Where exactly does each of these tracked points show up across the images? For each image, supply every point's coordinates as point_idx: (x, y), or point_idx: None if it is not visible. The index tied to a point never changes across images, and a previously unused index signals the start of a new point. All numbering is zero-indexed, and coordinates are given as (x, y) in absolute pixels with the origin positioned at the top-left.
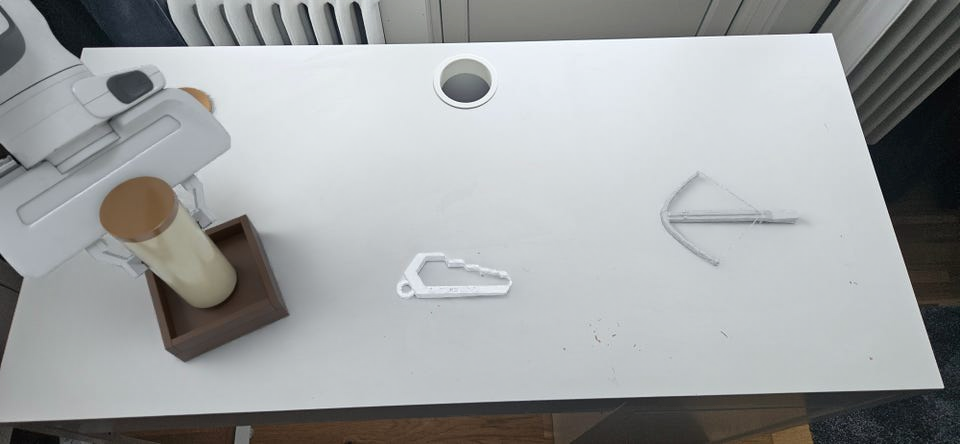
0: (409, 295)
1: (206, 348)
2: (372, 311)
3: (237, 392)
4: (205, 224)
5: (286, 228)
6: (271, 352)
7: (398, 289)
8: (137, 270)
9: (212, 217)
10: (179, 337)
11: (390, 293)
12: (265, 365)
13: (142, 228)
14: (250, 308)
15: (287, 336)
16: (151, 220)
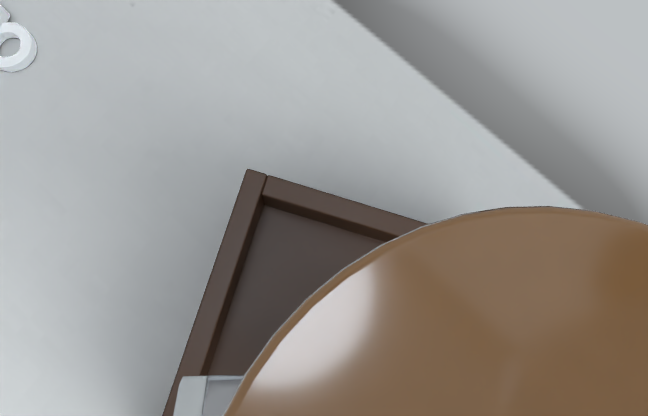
0: (15, 25)
1: None
2: (109, 66)
3: (446, 129)
4: (236, 376)
5: (102, 412)
6: (340, 150)
7: (22, 53)
8: None
9: (187, 386)
10: None
11: (46, 70)
12: (368, 135)
13: (632, 293)
14: (316, 201)
15: (291, 155)
16: (533, 308)
